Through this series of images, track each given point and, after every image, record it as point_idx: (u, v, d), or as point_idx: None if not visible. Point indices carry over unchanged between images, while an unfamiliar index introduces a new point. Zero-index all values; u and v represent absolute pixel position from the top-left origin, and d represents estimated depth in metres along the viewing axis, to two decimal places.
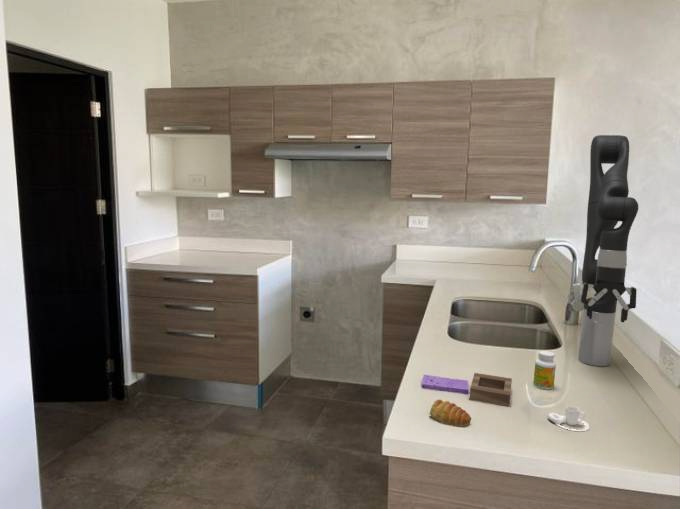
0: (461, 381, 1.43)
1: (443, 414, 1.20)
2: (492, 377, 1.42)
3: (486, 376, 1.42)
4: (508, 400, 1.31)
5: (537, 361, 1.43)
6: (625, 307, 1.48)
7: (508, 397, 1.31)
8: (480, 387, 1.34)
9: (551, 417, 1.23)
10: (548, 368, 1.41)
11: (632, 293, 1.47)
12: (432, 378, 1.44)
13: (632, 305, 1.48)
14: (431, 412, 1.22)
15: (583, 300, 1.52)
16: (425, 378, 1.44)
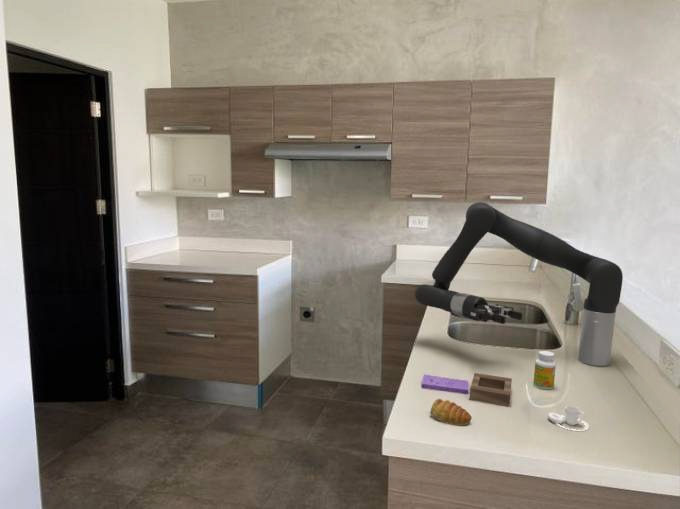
0: (461, 381, 1.43)
1: (443, 413, 1.21)
2: (492, 377, 1.42)
3: (486, 376, 1.42)
4: (508, 400, 1.31)
5: (537, 361, 1.43)
6: None
7: (508, 397, 1.31)
8: (480, 387, 1.34)
9: (550, 417, 1.23)
10: (548, 368, 1.41)
11: None
12: (432, 378, 1.44)
13: None
14: (431, 411, 1.23)
15: None
16: (425, 378, 1.44)
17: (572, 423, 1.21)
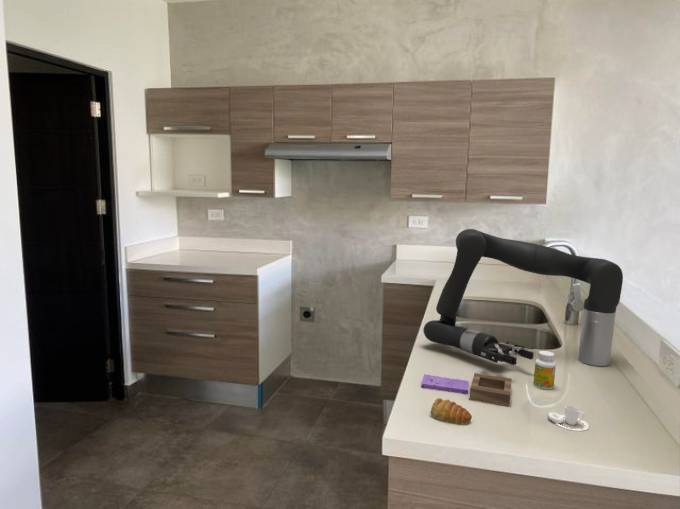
0: (461, 381, 1.43)
1: (444, 413, 1.21)
2: (492, 377, 1.42)
3: (486, 376, 1.42)
4: (508, 400, 1.31)
5: (537, 361, 1.43)
6: None
7: (508, 397, 1.31)
8: (480, 387, 1.34)
9: (550, 416, 1.23)
10: (548, 368, 1.41)
11: None
12: (432, 378, 1.44)
13: None
14: (432, 411, 1.23)
15: None
16: (425, 378, 1.44)
17: (572, 423, 1.22)
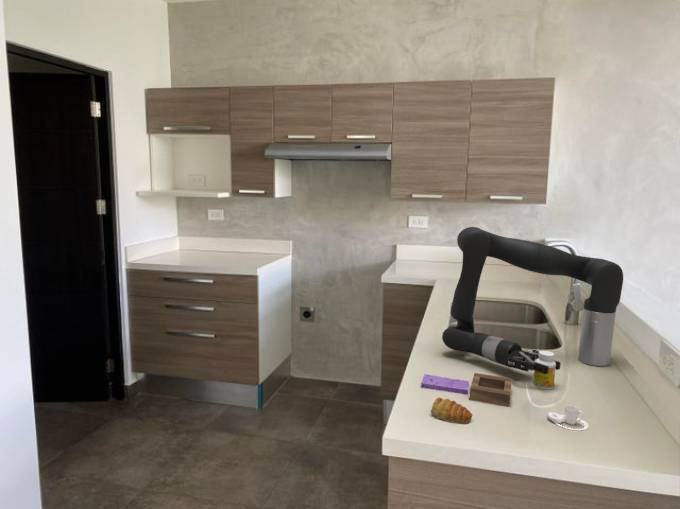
0: (461, 381, 1.43)
1: (444, 412, 1.22)
2: (492, 377, 1.42)
3: (486, 376, 1.42)
4: (508, 400, 1.31)
5: (537, 361, 1.43)
6: None
7: (508, 397, 1.31)
8: (480, 387, 1.34)
9: (550, 416, 1.23)
10: None
11: None
12: (432, 378, 1.45)
13: None
14: (432, 410, 1.23)
15: None
16: (425, 377, 1.44)
17: (571, 422, 1.22)
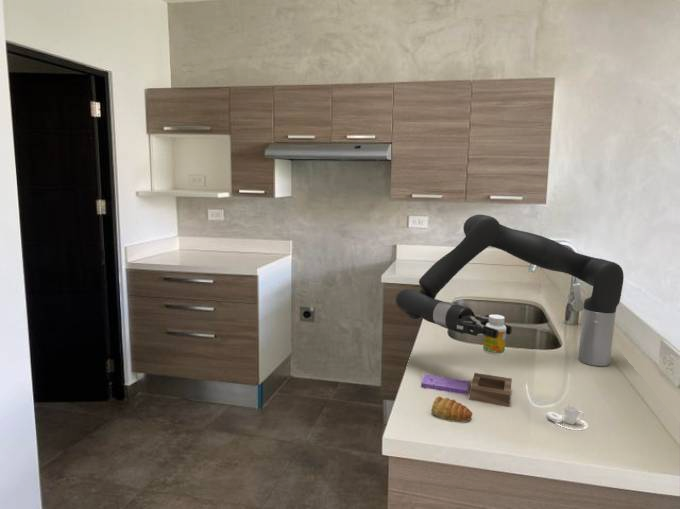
0: (461, 381, 1.43)
1: (445, 411, 1.22)
2: (492, 377, 1.42)
3: (486, 376, 1.42)
4: (508, 400, 1.31)
5: (487, 325, 1.35)
6: None
7: (508, 397, 1.31)
8: (480, 387, 1.34)
9: (550, 416, 1.23)
10: (498, 332, 1.33)
11: None
12: (432, 377, 1.45)
13: None
14: (433, 409, 1.24)
15: None
16: (425, 377, 1.45)
17: (571, 422, 1.22)
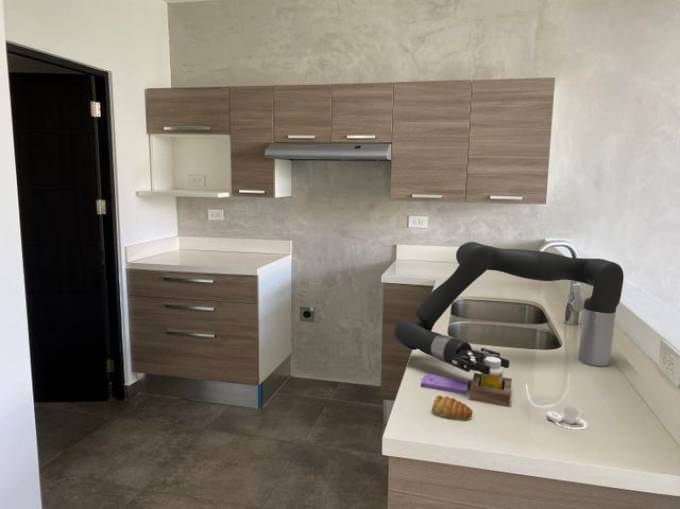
0: (461, 382, 1.43)
1: (446, 409, 1.23)
2: None
3: None
4: (508, 400, 1.31)
5: None
6: None
7: (508, 397, 1.31)
8: (480, 387, 1.34)
9: (549, 415, 1.23)
10: (494, 375, 1.34)
11: None
12: (433, 377, 1.45)
13: None
14: (433, 408, 1.25)
15: None
16: (425, 377, 1.45)
17: (571, 422, 1.22)
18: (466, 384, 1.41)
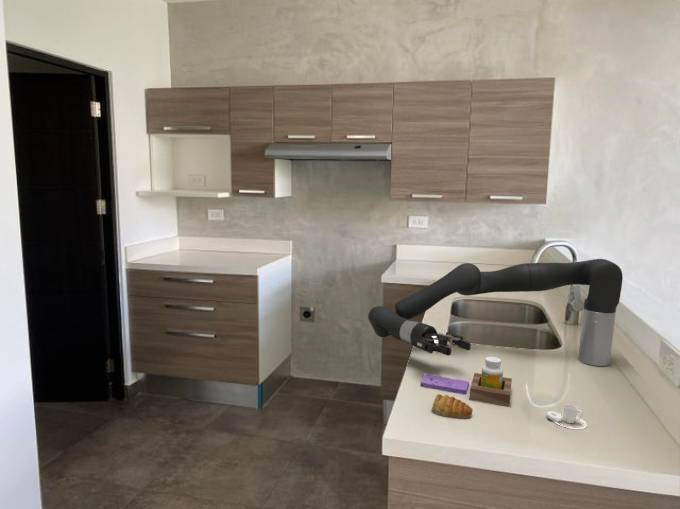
0: (462, 382, 1.43)
1: (446, 408, 1.24)
2: None
3: None
4: (508, 400, 1.31)
5: (483, 368, 1.37)
6: None
7: (508, 397, 1.31)
8: (480, 387, 1.34)
9: (549, 415, 1.24)
10: (494, 375, 1.34)
11: None
12: (433, 377, 1.45)
13: None
14: (434, 407, 1.25)
15: None
16: (425, 377, 1.45)
17: (570, 421, 1.22)
18: (466, 384, 1.41)
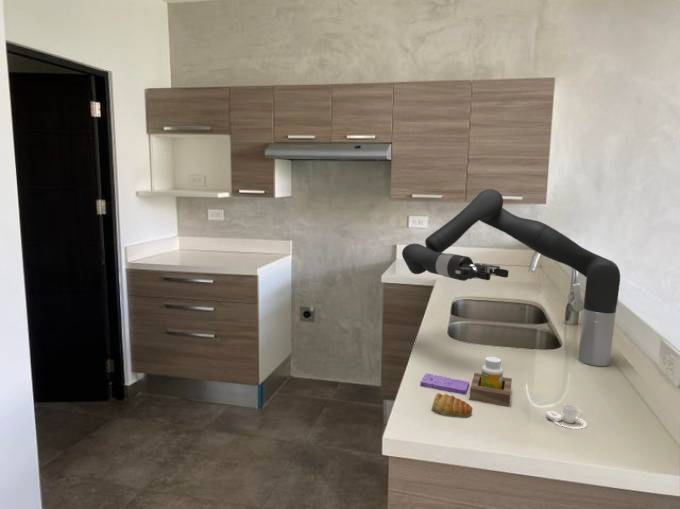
0: (462, 382, 1.43)
1: (447, 407, 1.24)
2: None
3: None
4: (508, 400, 1.31)
5: (483, 368, 1.37)
6: None
7: (508, 397, 1.31)
8: (480, 387, 1.34)
9: (549, 415, 1.24)
10: (494, 375, 1.34)
11: None
12: (433, 377, 1.45)
13: None
14: (434, 406, 1.26)
15: None
16: (426, 376, 1.45)
17: (570, 421, 1.22)
18: (466, 384, 1.41)
